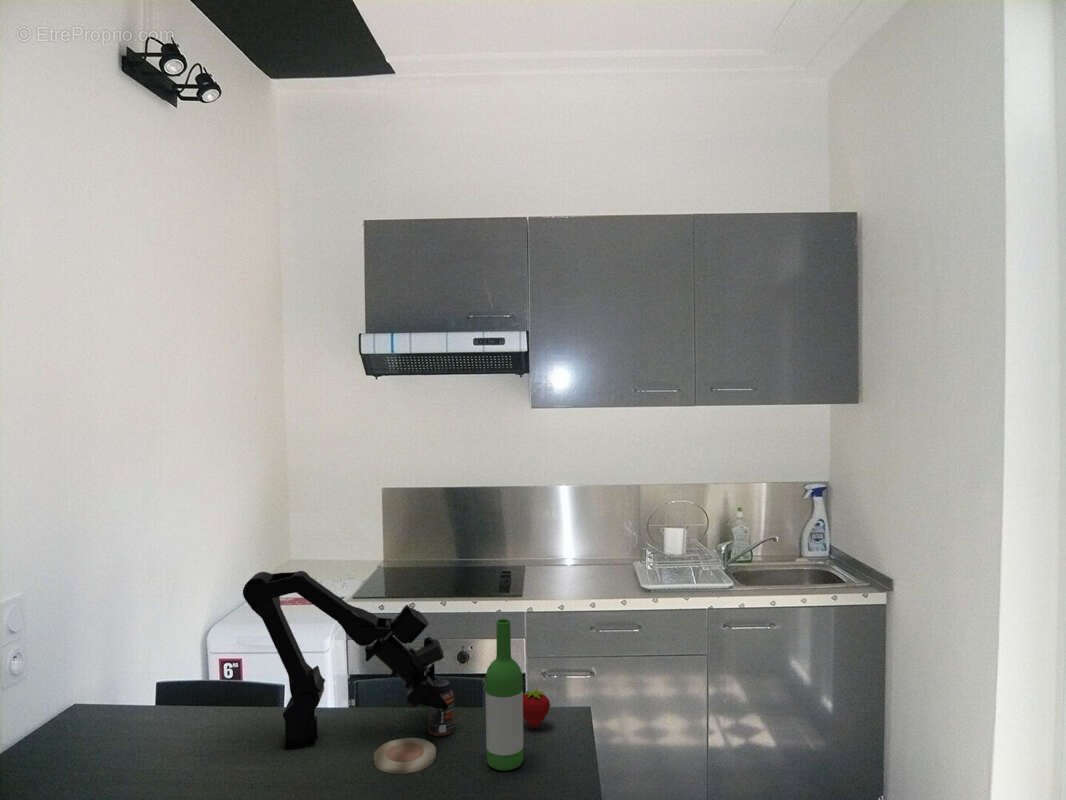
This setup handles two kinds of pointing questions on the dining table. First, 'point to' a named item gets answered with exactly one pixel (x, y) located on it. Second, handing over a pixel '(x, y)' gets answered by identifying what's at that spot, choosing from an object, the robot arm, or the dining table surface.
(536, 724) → the strawberry
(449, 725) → the supplement bottle
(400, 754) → the serving plate
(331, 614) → the robot arm
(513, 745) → the wine bottle
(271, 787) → the dining table surface
